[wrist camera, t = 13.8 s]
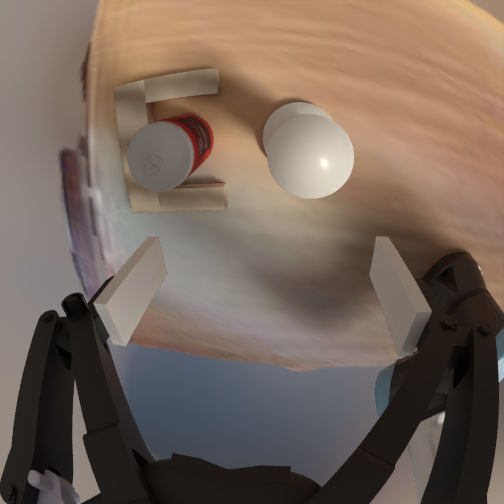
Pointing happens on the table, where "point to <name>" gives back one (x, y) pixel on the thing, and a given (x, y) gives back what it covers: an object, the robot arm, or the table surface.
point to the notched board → (140, 114)
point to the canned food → (169, 151)
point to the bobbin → (307, 150)
